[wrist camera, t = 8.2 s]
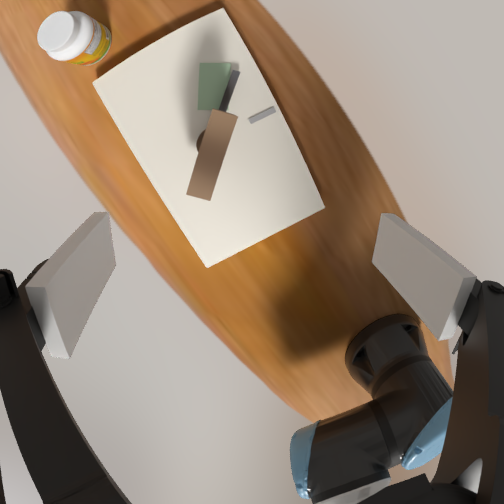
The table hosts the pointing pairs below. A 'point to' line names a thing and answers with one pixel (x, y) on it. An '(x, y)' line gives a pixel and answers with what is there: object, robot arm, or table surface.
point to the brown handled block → (213, 146)
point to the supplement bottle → (74, 38)
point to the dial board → (195, 121)
